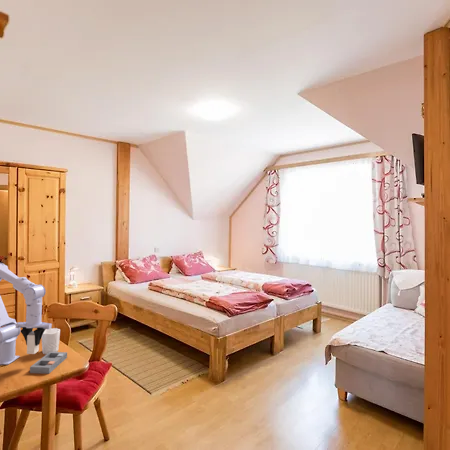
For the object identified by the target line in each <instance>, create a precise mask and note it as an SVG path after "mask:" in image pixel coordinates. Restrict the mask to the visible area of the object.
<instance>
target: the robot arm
mask: <svg viewBox="0 0 450 450" xmlns="http://www.w3.org/2000/svg"><path fill="white" fill-rule="evenodd" d="M2 280H4V281H6V282H8V283H10V284H12V287H13V289H15V290H16V291H18V292H19V293H20V294H23V298H24V300H25V305H26V312H25V313H26V315H25V316H26V317H25V321H23V322H22V321H18V322H17V321H16V319H15V318H12V317H9V314H8V312H7V309H6V306H5V304H4V301H3V299H2V296H1V295H0V365H8V366H9V365H10V364H11V363H13V362H15V361H16V360H17V359H19V358H20V357H21V356H20V355H16V343H17V341H16V340H17V339H18V337H19V336H20V334H22V336H23V337H24V340H25V345H26V346H27V335H29V333H30V332H32V331H34V334H35V346H37V345H39V346H40V344H41V341H42V335H43V333H44V331H45V330H46V329H50V328H52V325H53V324H52V323H49V322H43V321H42V314H43V313H42V311H43V310H42V309H43V298H44V297H45V295H46V294H47V293H46V292H47V291H46V287H45V286H44V285H43V284H41V283H40V284H37V283H36V284H35V283H34V282H32V281H31V280H29V279H28V278H27V277H26V276H22V277H21V276H20V277H19V276H18V275H16V274H15V273H14V272H13V271H11V270H10V269H9V266H8V265H6V264H5V263H3V262H0V282H1V281H2ZM21 328H22V329H21Z"/></svg>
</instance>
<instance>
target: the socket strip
mask: <svg viewBox="0 0 450 450" xmlns="http://www.w3.org/2000/svg"><path fill="white" fill-rule="evenodd" d="M67 358H68V352H67V351H65V352H64V351H63V352H61V351H57V352H49V353H48V354H44V356H42V357H41V358H40V359H38V360H37V361H36V362H35V363H33V364H32V365H31V366H30V367H29V374H51V372H53V371H54V370H55V369H56V368H58V366H60V364H62V363H63V362H64V361H65V360H66V359H67Z"/></svg>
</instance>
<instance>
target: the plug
mask: <svg viewBox="0 0 450 450" xmlns="http://www.w3.org/2000/svg"><path fill="white" fill-rule="evenodd" d="M39 349H40V344H39V345H37V346H35V334H34V330H32V332H30V333H29V335H27V345H26V354H27V355H35V354H36V353H37V352H39Z"/></svg>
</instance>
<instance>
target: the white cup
mask: <svg viewBox="0 0 450 450" xmlns="http://www.w3.org/2000/svg"><path fill="white" fill-rule="evenodd" d="M60 336H61V329H60V328H57V327H54V328H50V329H45V331H44V333H43V335H42V337H41V347H42V348H41V350H42V354H43V355H46V354H48V353H49V352H59V345H60V338H61V337H60Z"/></svg>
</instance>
